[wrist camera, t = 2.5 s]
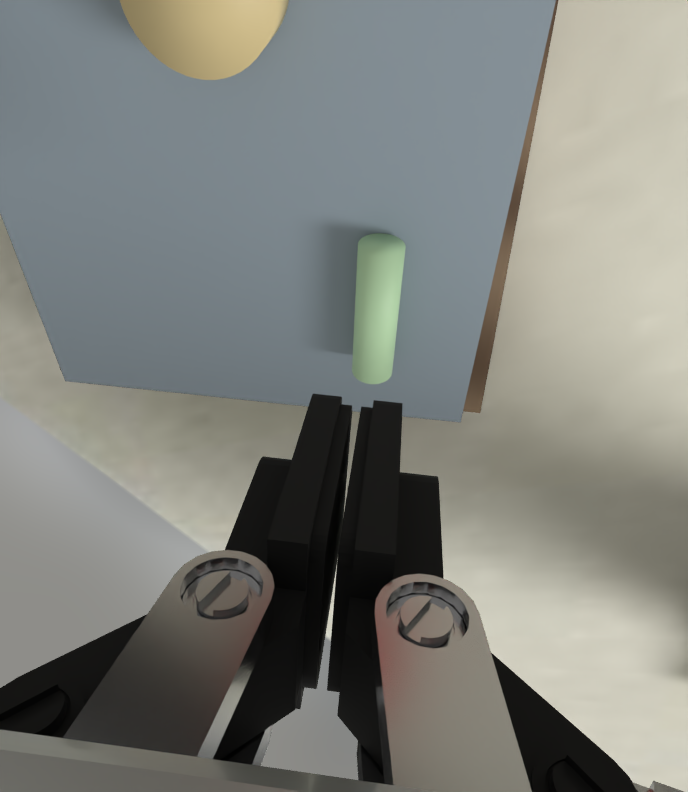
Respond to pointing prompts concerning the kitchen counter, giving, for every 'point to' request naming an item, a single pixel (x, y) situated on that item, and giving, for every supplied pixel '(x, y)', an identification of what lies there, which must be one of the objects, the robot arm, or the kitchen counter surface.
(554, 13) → the wooden board
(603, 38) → the kitchen counter surface
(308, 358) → the plate
